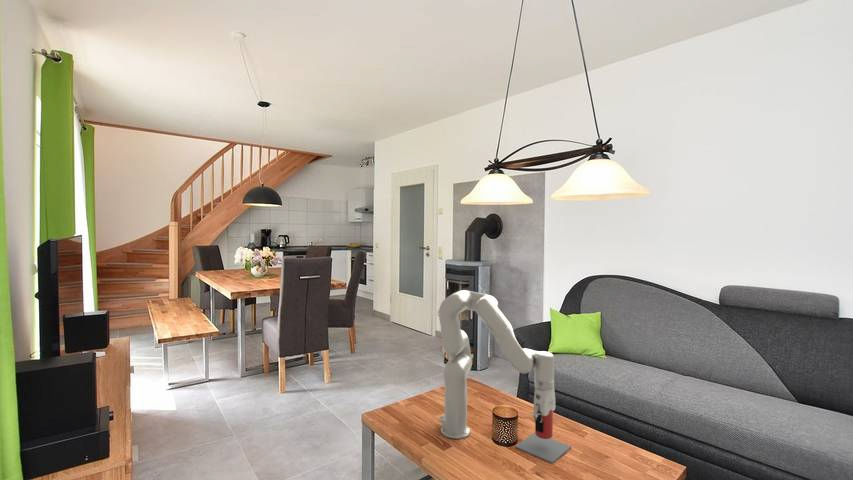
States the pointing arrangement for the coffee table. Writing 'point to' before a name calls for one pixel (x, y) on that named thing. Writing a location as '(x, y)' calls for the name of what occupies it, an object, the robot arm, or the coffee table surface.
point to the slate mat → (543, 448)
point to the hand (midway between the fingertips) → (543, 427)
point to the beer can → (546, 426)
